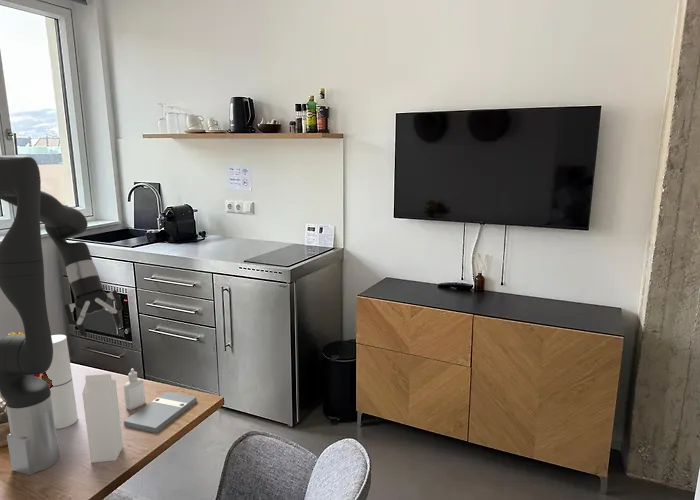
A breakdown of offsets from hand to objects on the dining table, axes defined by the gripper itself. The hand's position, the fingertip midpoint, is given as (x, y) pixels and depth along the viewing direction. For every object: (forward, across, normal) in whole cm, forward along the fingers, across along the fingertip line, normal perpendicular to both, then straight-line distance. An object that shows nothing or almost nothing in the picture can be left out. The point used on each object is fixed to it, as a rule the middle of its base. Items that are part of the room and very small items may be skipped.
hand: (102, 332), depth 140 cm
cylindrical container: (+20, -16, +12) cm, 28 cm away
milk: (+31, -8, -10) cm, 34 cm away
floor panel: (+28, +8, +3) cm, 29 cm away
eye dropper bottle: (+24, +3, +11) cm, 26 cm away
